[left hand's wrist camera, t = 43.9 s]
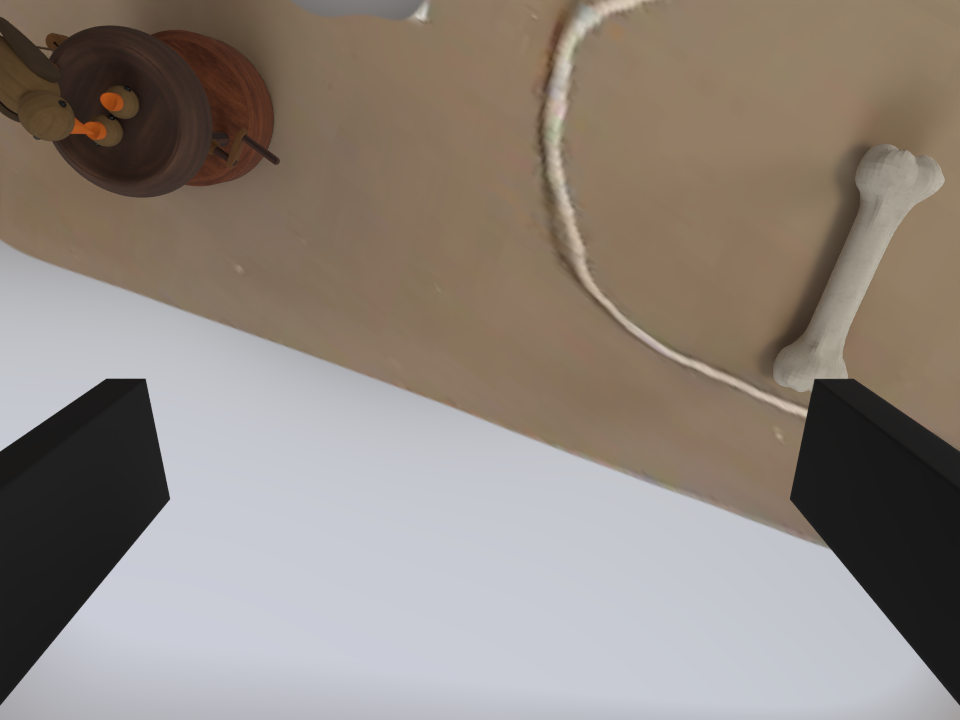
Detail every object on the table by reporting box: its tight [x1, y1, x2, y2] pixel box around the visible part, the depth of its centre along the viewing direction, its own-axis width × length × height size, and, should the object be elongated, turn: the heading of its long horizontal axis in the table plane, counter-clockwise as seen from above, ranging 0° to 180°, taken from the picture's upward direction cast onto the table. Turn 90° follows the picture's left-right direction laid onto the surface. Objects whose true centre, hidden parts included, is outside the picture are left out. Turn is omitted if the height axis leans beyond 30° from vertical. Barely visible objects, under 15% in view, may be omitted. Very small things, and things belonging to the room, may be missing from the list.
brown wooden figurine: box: [0, 17, 280, 197], centre depth 39 cm, size 15×11×20 cm
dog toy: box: [773, 144, 945, 392], centre depth 50 cm, size 20×6×5 cm, turn 167°
